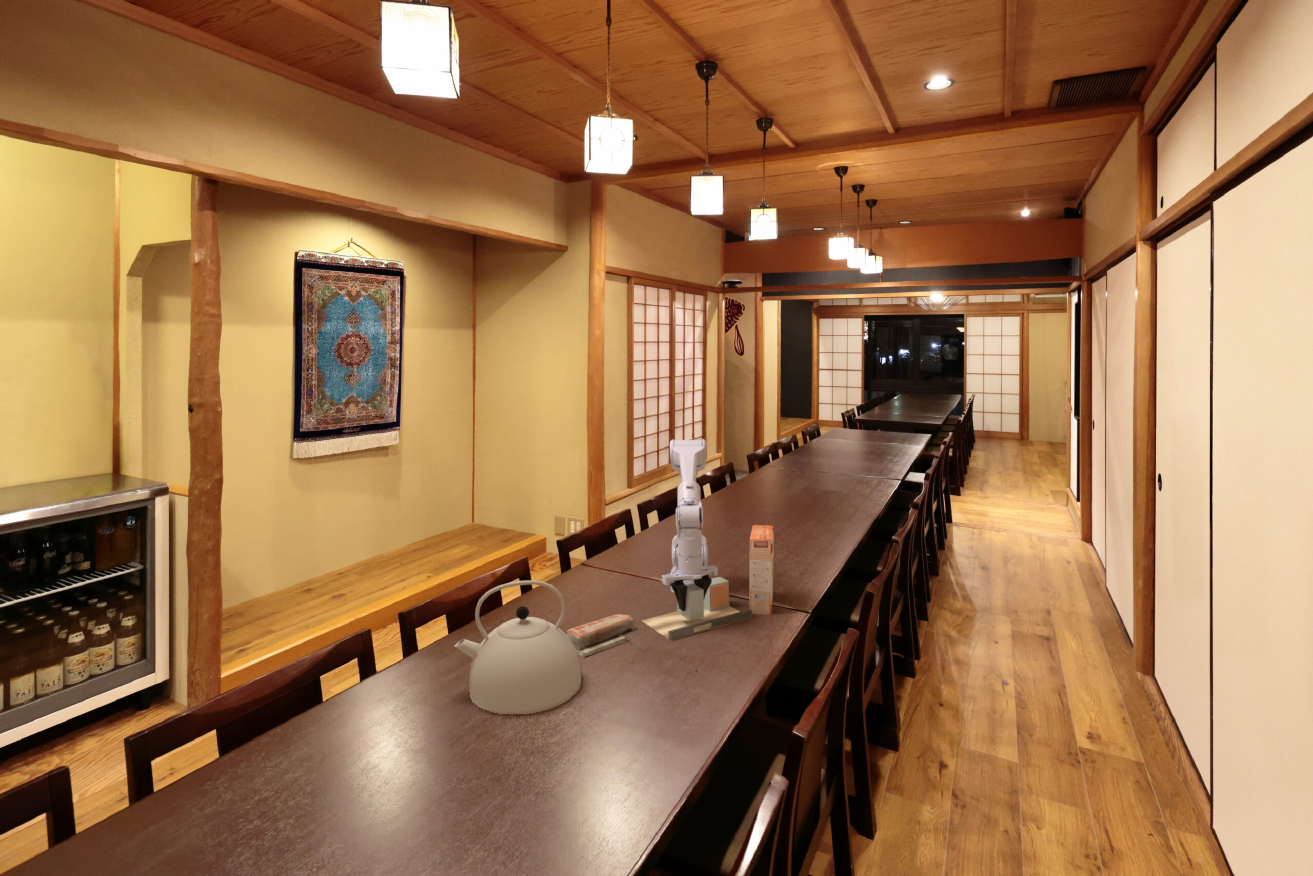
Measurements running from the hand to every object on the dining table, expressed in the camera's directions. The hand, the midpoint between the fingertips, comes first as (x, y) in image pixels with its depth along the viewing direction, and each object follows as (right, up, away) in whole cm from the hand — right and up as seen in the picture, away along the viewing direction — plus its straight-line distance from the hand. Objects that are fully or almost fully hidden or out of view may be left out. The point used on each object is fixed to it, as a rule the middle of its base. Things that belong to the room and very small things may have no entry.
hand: (690, 607), depth 164 cm
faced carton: (+7, -3, +11) cm, 14 cm away
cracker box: (+19, -4, +13) cm, 24 cm away
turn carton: (0, -2, 0) cm, 2 cm away
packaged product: (-21, -7, -4) cm, 23 cm away
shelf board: (+2, -5, +4) cm, 7 cm away
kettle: (-37, -10, -26) cm, 46 cm away
